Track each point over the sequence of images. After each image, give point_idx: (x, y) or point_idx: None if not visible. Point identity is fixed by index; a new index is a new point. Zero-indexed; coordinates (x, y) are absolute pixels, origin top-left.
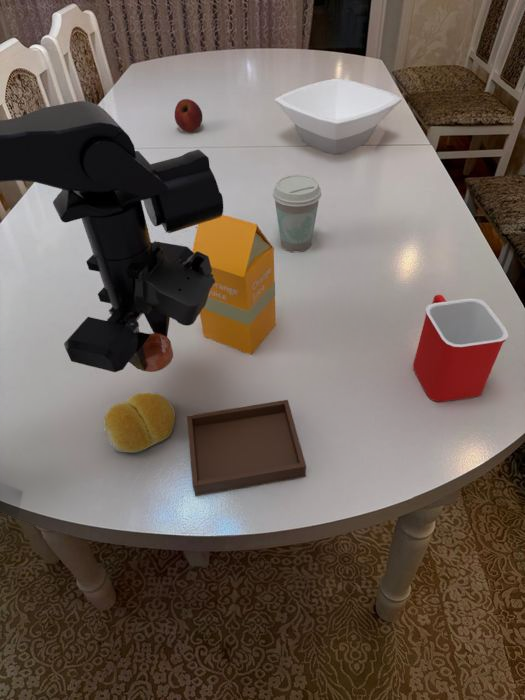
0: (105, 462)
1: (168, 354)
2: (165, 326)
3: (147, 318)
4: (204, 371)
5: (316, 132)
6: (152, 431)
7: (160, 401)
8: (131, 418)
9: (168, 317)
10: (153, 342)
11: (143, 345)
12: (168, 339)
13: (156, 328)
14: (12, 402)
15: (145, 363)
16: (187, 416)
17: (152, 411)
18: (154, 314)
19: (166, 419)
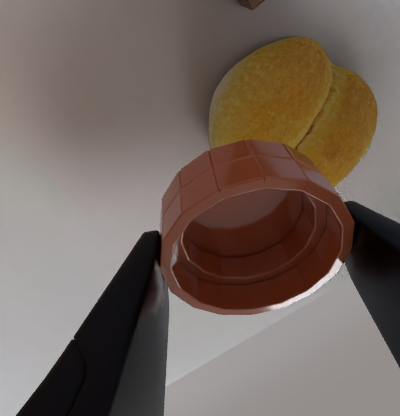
0: (375, 133)
1: (261, 167)
2: (143, 296)
3: (163, 381)
4: (56, 83)
5: None
6: (329, 76)
7: (250, 112)
8: (332, 143)
9: (97, 341)
10: (192, 258)
11: (224, 275)
12: (175, 226)
13: (161, 307)
14: (288, 308)
15: (370, 222)
16: (254, 6)
17: (295, 109)
18: (146, 405)
19: (291, 61)
